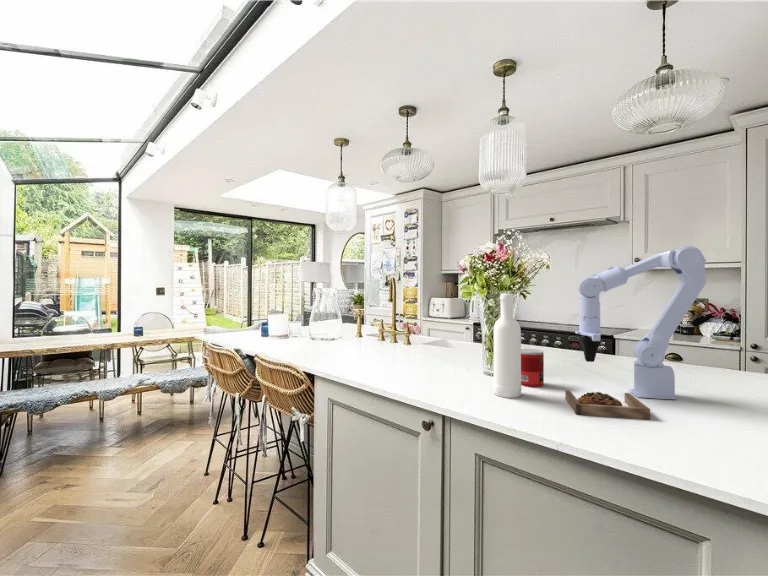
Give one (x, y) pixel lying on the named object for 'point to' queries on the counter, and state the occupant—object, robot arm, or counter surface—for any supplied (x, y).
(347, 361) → the counter surface
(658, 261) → the robot arm
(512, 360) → the bottle
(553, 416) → the counter surface
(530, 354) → the canned food
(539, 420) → the counter surface
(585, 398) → the mushroom cheese tart
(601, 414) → the wooden u-shaped frame
